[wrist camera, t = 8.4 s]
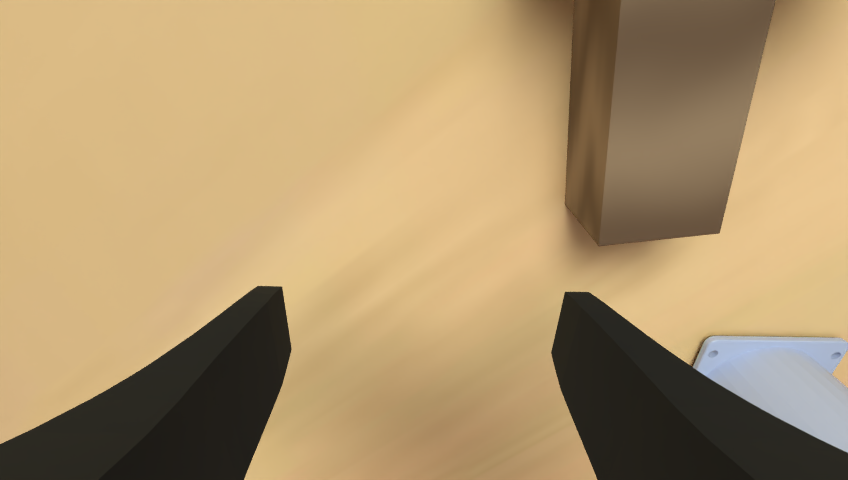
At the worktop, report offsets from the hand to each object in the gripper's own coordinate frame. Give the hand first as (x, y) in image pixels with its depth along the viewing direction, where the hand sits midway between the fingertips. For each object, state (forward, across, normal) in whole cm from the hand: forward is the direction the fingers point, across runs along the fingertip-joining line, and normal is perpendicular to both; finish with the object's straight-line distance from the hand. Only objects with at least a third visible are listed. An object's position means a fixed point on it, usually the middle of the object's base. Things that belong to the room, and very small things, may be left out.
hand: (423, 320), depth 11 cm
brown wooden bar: (+10, -8, -7) cm, 14 cm away
